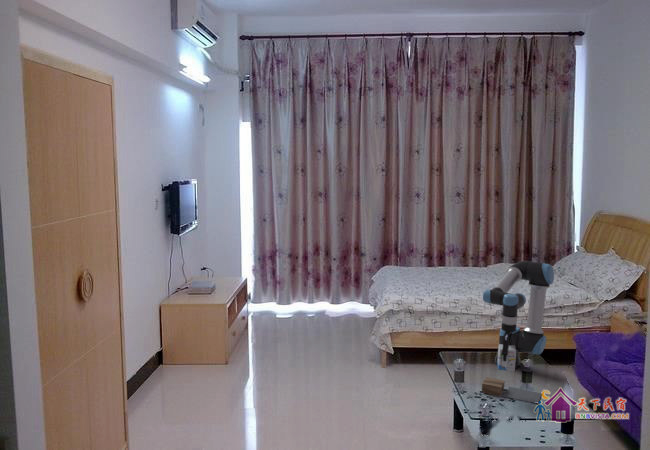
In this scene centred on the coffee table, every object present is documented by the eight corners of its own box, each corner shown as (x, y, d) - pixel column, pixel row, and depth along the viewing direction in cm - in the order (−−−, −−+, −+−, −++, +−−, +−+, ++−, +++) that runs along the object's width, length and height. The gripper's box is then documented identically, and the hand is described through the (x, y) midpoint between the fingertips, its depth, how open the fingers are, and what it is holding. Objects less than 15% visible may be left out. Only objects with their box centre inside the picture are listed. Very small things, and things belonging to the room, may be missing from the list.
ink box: (498, 369, 309) (499, 349, 307) (497, 364, 317) (498, 343, 316) (515, 371, 307) (516, 350, 306) (513, 365, 316) (514, 345, 314)
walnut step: (485, 385, 324) (486, 377, 323) (504, 389, 319) (504, 380, 319) (481, 392, 315) (482, 383, 314) (500, 396, 311) (501, 387, 310)
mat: (509, 387, 322) (509, 386, 322) (541, 394, 314) (541, 393, 314) (504, 397, 310) (504, 396, 310) (537, 404, 302) (537, 403, 302)
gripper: (505, 316, 320) (503, 355, 323) (497, 327, 300) (495, 368, 304) (519, 318, 317) (516, 357, 320) (512, 330, 297) (509, 371, 300)
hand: (506, 363), depth 312 cm, fingers closed on ink box, 10 cm apart
